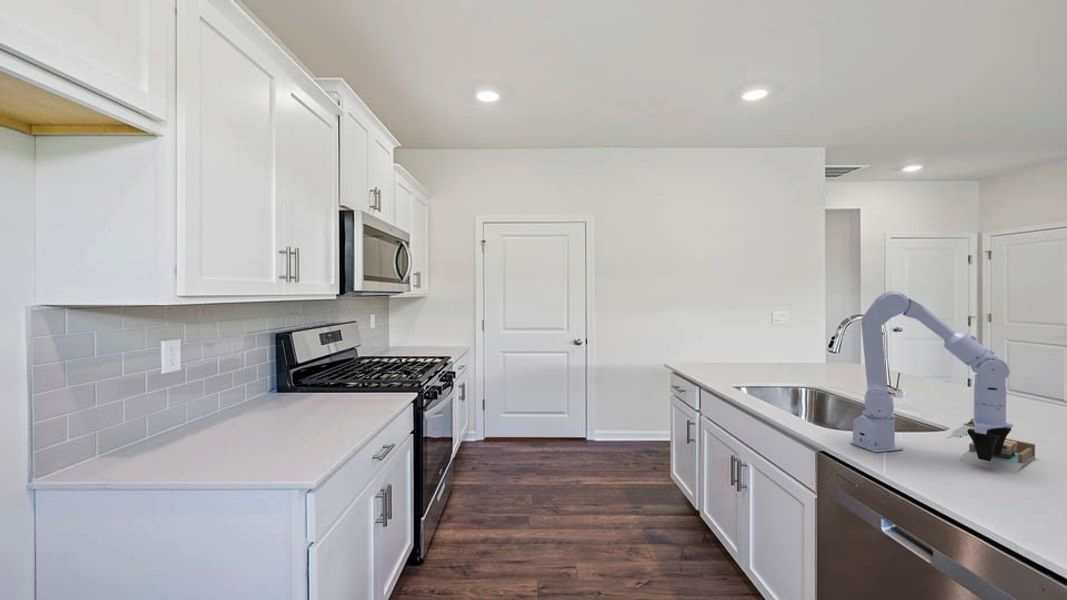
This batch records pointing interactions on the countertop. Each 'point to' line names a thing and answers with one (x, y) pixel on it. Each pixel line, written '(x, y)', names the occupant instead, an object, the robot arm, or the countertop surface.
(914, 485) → the countertop surface
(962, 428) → the knife
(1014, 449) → the tan cardboard box
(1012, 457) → the bay pad
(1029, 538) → the countertop surface
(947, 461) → the countertop surface
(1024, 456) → the dock
